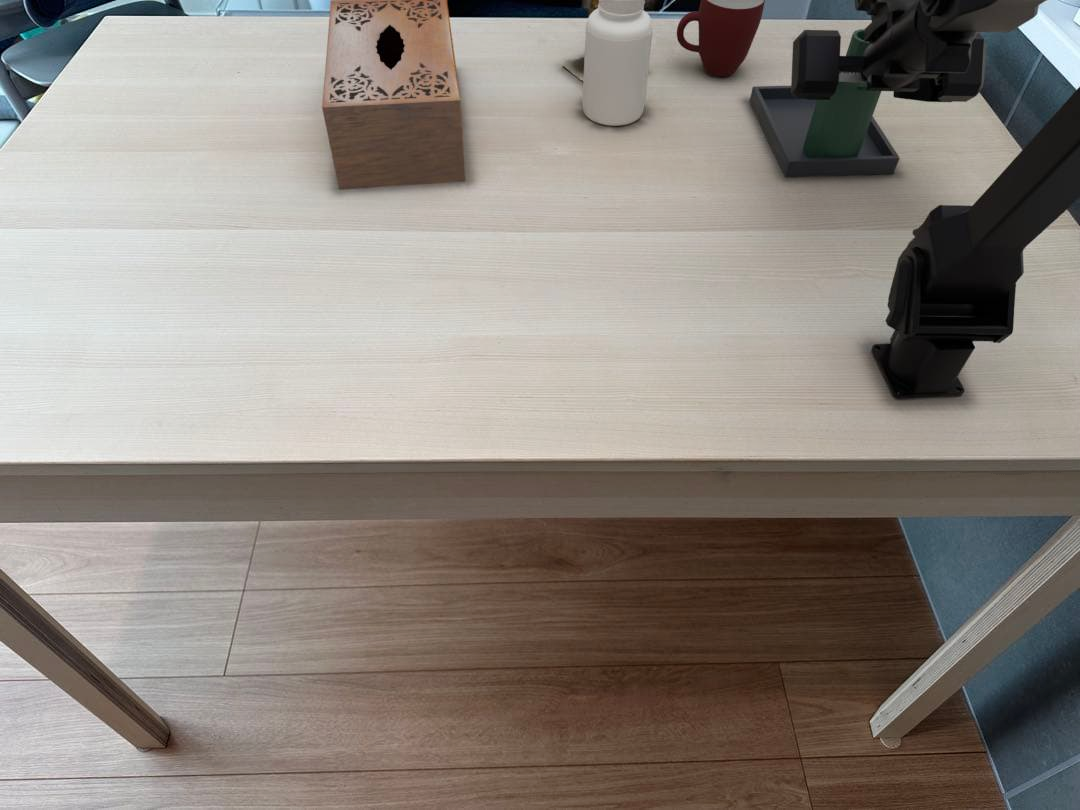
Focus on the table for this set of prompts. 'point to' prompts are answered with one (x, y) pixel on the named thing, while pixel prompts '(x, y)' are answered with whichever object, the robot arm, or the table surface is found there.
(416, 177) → the tissue box cover
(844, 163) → the tray
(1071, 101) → the robot arm
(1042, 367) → the table surface
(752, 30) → the mug
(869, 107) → the bottle
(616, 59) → the pill bottle
